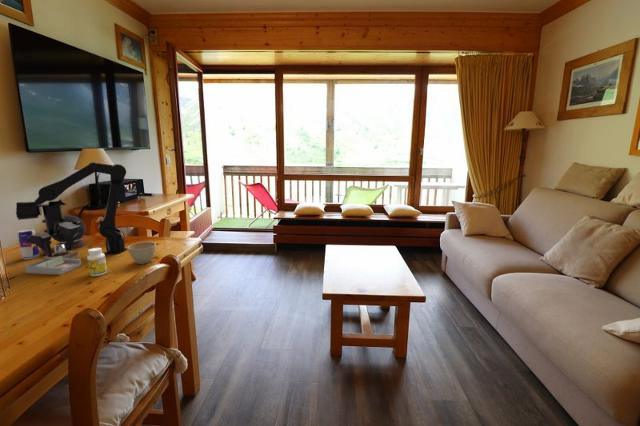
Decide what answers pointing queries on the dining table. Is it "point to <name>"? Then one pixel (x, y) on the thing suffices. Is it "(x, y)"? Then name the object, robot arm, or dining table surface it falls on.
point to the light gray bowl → (142, 251)
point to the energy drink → (27, 244)
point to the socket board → (68, 255)
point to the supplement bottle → (96, 262)
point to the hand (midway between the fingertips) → (60, 253)
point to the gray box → (56, 270)
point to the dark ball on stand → (77, 241)
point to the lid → (52, 262)
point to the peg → (60, 249)
